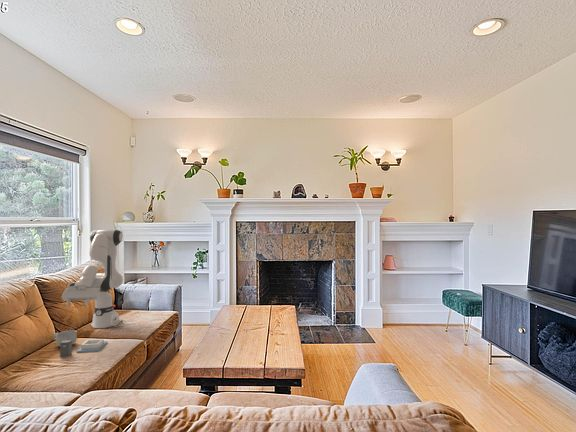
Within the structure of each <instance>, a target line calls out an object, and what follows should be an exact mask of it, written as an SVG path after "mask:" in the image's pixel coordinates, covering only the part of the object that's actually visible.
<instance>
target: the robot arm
mask: <svg viewBox="0 0 576 432" xmlns="http://www.w3.org/2000/svg"><path fill="white" fill-rule="evenodd" d="M89 236H90V237H89V240H90V241H91V244H90V248H89V256H90V258H91V259H93V261H95V262H97V263H98V265H99V267H100V268H102V269H103V270H104V271H103V273H101V272H98V271H99V270H98V266H95V265H86V266H85V267H84V268H83V269H82V271H81V274H80V278H79V279H78V280H77V281H75V282H72V283H68V284H67V288H65V290H64V291H63V293H62V294H61V300H63V301H64V302H65V301H66V307H71V305H72V303H71V302H72V301H84V302H83V304H82V306H84V307H86V306H88V304H89V303H90V302H91V301H94V303H95V306H94V313H93V315H92V322H91V324H90V326H92V328H93V329H105V328H110V327H115V326H117V325H118V324H120V323H121V322H122V321H123V319H122V318H120V314H119V313H118V312H117V311H115V310H114V308H116V304H113V295H112V294H111V293H110V292H109V291H111V289H114V288H118V287H120V286H122V284H123V280H124V279H123V275H122V274H121V273H120V272H118V270H117V268H116V261H117V260H116V258H117V252H118V251H117V249H118V248H117V246H119V244H120V243H121V242H122V241H123V239H124V238H123V232H122V231H121V230H118V229H97V230H96V229H95V230H92V231H91V232H90V235H89Z"/></svg>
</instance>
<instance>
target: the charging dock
mask: <svg viewBox="0 0 576 432" xmlns="http://www.w3.org/2000/svg"><path fill="white" fill-rule="evenodd" d="M107 344H108V341H105V339H104V338H101V339H87V340H86V341H84V342H82V344H81V345H80V347H79V349H77V350H76V354H79V353H95V352H100V351H101V349H103V348H104V347H106V345H107Z"/></svg>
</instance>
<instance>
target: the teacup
mask: <svg viewBox="0 0 576 432" xmlns="http://www.w3.org/2000/svg"><path fill="white" fill-rule="evenodd" d="M77 333H78V331H77V330H75V329H70V330H63V331H60V332H55V333H54V334H53V336H52V338H53V340H55V341H56V345H57V346H58V347H60V343H61V342H62V341H65V340H72V346H73V345H74V344H75V343H76V342H77V335H78V334H77Z"/></svg>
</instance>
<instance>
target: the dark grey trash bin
mask: <svg viewBox="0 0 576 432" xmlns="http://www.w3.org/2000/svg"><path fill="white" fill-rule="evenodd" d="M72 347H73V345H72V340H65V341H62V342H61V343H60V346H59V350H60V351H59V357H60V358H61V357H70V356H71V355H72V351H73V348H72Z"/></svg>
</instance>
